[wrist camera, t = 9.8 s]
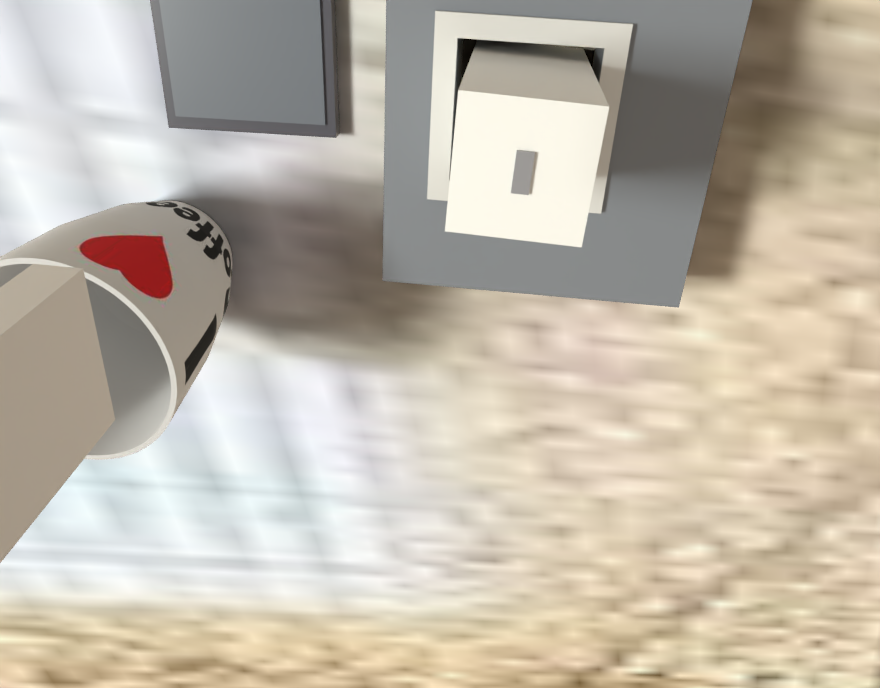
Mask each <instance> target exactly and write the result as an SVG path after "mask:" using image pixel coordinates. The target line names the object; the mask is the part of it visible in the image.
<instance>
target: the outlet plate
mask: <svg viewBox="0 0 880 688" xmlns="http://www.w3.org/2000/svg"><path fill="white" fill-rule="evenodd" d="M752 1H753V0H386V69H385V142H384V215H383V281H390V282H401V283H412V284H424V285H435V286H446V287H457V288H468V289H479V290H490V291H501V292H512V293H524V294H535V295H546V296H557V297H568V298H579V299H590V300H601V301H612V302H624V303H635V304H646V305H657V306H668V307H679V304H680V300H681V296H682V292H683V288H684V283H685V279H686V275H687V271H688V267H689V263H690V259H691V254H692V250H693V246H694V242H695V238H696V234H697V229H698V225H699V221H700V217H701V213H702V209H703V204H704V200H705V196H706V192H707V188H708V184H709V179H710V175H711V171H712V167H713V163H714V159H715V155H716V150H717V146H718V142H719V138H720V134H721V130H722V125H723V121H724V117H725V113H726V109H727V105H728V100H729V96H730V92H731V88H732V84H733V80H734V75H735V71H736V67H737V63H738V59H739V55H740V51H741V46H742V42H743V38H744V34H745V30H746V26H747V21H748V17H749V13H750V9H751V5H752ZM463 38H464V39H478V40H493V41H507V42H521V43H536V44H550V45H564V46H579V47H593V48H595V52H594V58H593V65H592V69H593V71H594V74H595V76H596V78H597V80H598V83H599V85H600V87H601V89H602V91H603V94H604V96H605V98H606V100H607V103H608V105H609V111H608V116H607V121H606V126H605V131H604V136H603V141H602V146H601V152H600V157H599V162H598V167H597V172H596V177H595V182H594V187H593V192H592V197H591V202H590V207H589V213H588V218H587V223H586V228H585V233H584V238H583V243H582V247H573V246H565V245H556V244H548V243H540V242H531V241H523V240H514V239H506V238H497V237H489V236H480V235H472V234H463V233H455V232H446V231H445V224H446V213H447V203H448V192H449V182H450V171H451V161H452V150H453V140H454V129H455V119H456V108H457V98H458V89H459V87H460V83H461V68H462V52H463Z"/></svg>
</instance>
